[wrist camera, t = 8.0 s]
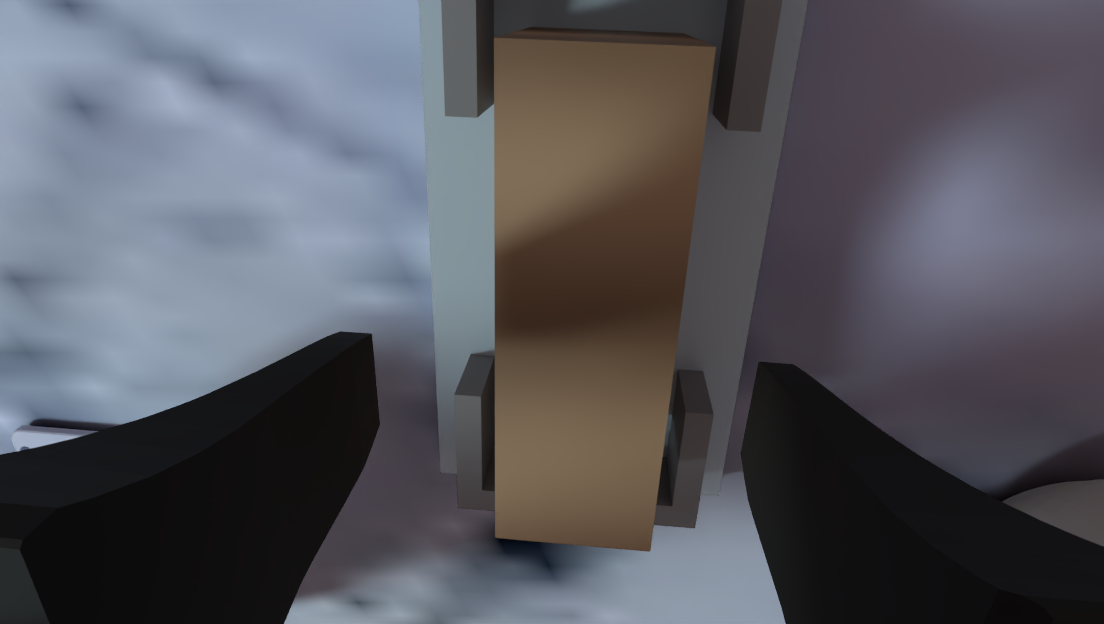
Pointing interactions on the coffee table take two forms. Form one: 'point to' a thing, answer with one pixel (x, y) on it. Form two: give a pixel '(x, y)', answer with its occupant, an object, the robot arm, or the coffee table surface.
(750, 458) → the robot arm
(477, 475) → the board
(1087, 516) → the teacup
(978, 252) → the coffee table surface
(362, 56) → the coffee table surface
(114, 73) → the coffee table surface
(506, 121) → the tan wooden block
